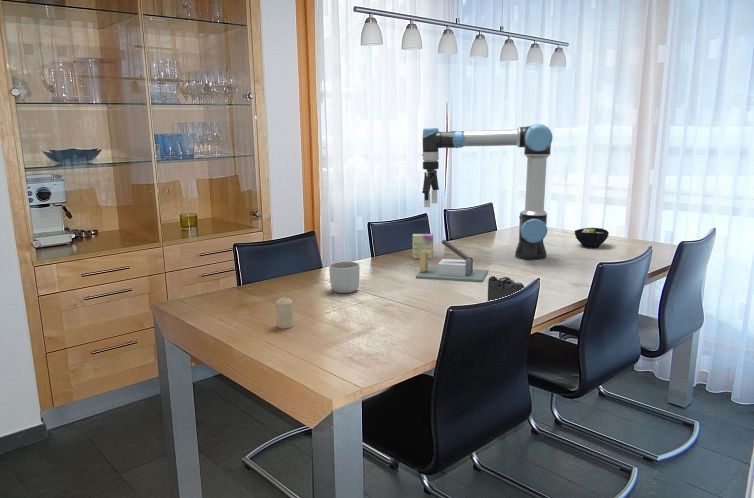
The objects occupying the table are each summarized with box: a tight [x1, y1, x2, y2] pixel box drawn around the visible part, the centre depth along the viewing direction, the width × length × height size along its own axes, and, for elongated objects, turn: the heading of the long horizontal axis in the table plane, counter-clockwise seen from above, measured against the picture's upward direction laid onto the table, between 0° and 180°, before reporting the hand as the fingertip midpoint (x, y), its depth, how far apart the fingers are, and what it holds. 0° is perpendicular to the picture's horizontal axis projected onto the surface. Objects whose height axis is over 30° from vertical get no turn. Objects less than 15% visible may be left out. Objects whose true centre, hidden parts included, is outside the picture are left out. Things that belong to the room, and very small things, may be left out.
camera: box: [487, 275, 525, 302], centre depth 218 cm, size 14×11×10 cm
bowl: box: [574, 227, 610, 249], centre depth 312 cm, size 17×17×10 cm
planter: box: [328, 261, 360, 294], centre depth 239 cm, size 12×12×11 cm
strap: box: [441, 239, 472, 261], centre depth 258 cm, size 15×3×1 cm
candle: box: [275, 296, 295, 329], centre depth 197 cm, size 6×6×10 cm
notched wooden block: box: [419, 249, 435, 272], centre depth 263 cm, size 5×5×9 cm
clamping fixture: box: [415, 256, 489, 283], centre depth 260 cm, size 29×18×8 cm, turn 72°
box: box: [412, 233, 434, 260], centre depth 296 cm, size 10×6×12 cm, turn 84°
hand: (430, 205), depth 283 cm, fingers open, 13 cm apart
